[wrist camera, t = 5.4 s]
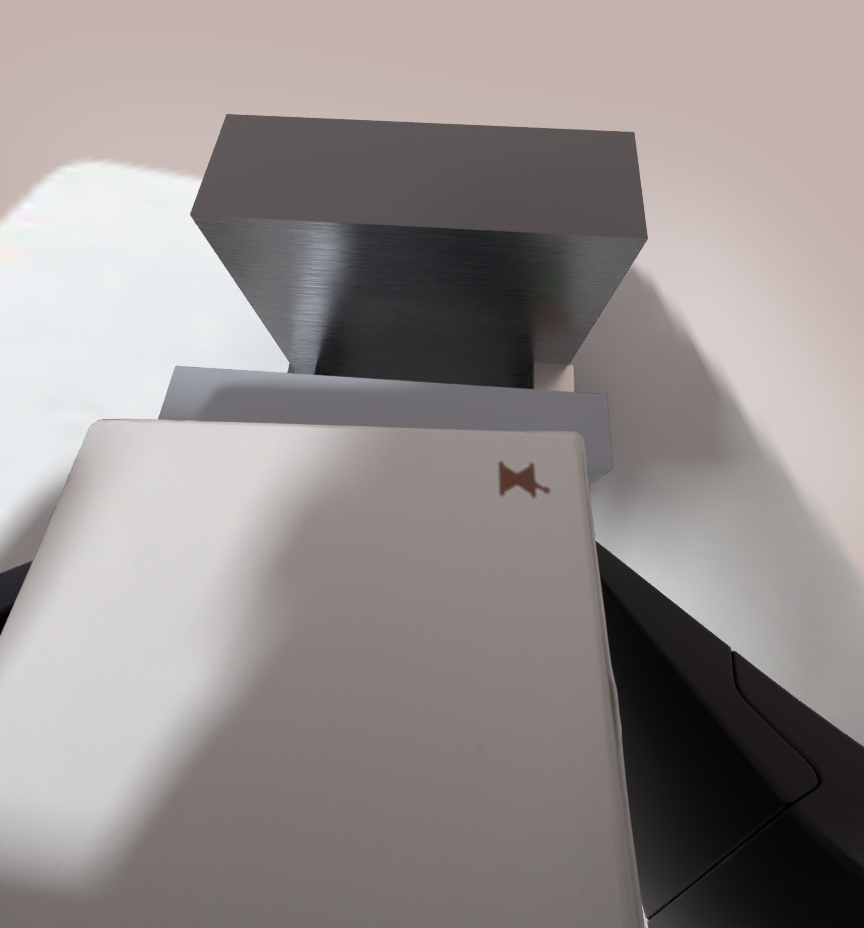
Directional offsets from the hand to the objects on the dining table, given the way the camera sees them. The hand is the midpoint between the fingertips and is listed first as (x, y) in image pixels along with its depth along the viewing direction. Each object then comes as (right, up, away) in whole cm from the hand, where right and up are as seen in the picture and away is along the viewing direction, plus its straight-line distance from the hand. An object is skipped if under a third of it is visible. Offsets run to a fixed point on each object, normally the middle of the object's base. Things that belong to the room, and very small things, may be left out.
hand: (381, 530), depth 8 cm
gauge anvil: (+1, +3, +10) cm, 11 cm away
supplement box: (0, -6, +7) cm, 9 cm away
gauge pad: (+1, -1, +8) cm, 8 cm away
